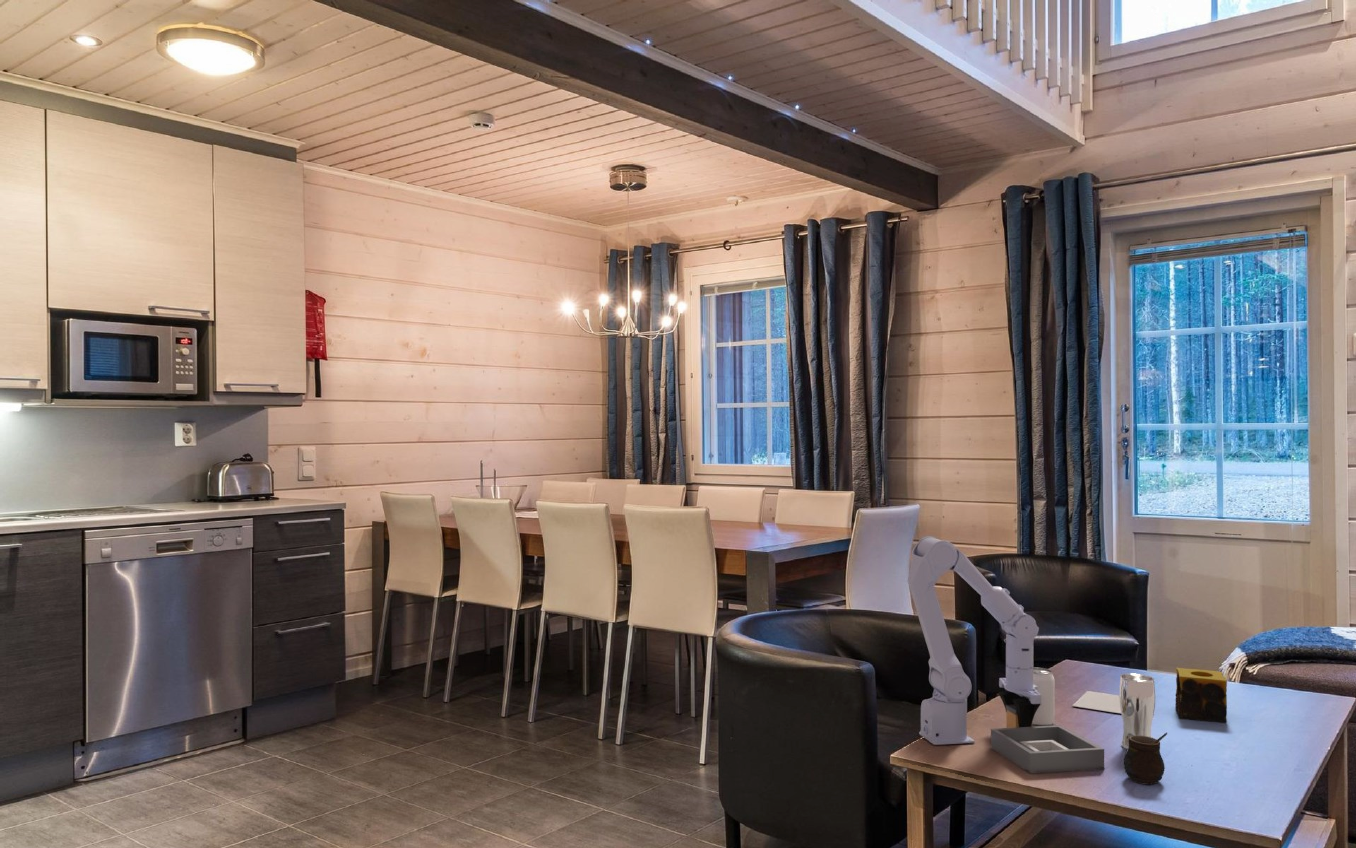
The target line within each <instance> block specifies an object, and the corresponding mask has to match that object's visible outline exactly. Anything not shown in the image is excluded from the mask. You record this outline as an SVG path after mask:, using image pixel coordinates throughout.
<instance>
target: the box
mask: <svg viewBox="0 0 1356 848" xmlns="http://www.w3.org/2000/svg"><path fill="white" fill-rule="evenodd" d="M990 748H991V749H992V750H994V751H995V752H997V753H998V754H1000V755H1001V756H1003V757H1005V758H1006V759H1007V760H1009V761H1010V762H1012V763H1014V764H1015V765H1017V767H1020V768H1021V769H1022V770H1024V771H1025V772H1027V773H1028V774H1030V775H1031V774H1033V775H1034V774H1049V773H1050V774H1051V773H1063V772H1064V773H1065V772H1078V771H1080V772H1081V771H1096V770H1098V771H1099V770H1105V748H1103V747H1101V746H1100V745H1097V744H1096V743H1094V742H1092V741H1090V740H1088V739H1086V738H1085V737H1084V736H1083V737H1082V736H1081V735H1079V734H1077V733H1075V732H1073V731H1071V730H1070V729H1067V728H1065V727H1063V725H1060V724H1059V725H1056V724H1055V725H1054V724H1053V725H1050V726H1037V725H1034V726H1033V727H1016V728H1006V727H1003V728H998V727H997V728H990Z"/></svg>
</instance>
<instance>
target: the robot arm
mask: <svg viewBox="0 0 1356 848" xmlns="http://www.w3.org/2000/svg"><path fill="white" fill-rule="evenodd" d="M949 570H950V571H952V572H955V573H957V574H958V575H959V576H960V577H961V579H963V580H964V581H965V582H966V583H967V584H968V585H969V586H970V587H971V588H972V589H973V590H974V591H976V593H977V594H979V595H980V604H981V606H982V607H984V609H986V611H987V612H988V613H989V614H990V615H991V616H992V617H993V618H994V619H995V620H996V621H997V622H998V623H999V625H1000V626H1001V629H1002V631H1003V632H1005V635H1006V636H1005V638H1006V639H1005V640H1006V641H1005V642H1006V643H1005V677H999V680H998V686H999V688H1002V689H1003V688H1004V691H999V692H998V696H999V697H1000V699H1001V702H1002V703H1003V706H1004V708H1005V709H1004V710H1005V713H1006V714H1007V710H1006V705H1015V707H1016V710H1017V715H1018V724H1019V727H1031V725H1032V721H1033V718H1034V715H1035V713H1036V711H1037V709H1038V707H1039V706H1040V705H1041V695H1040V694H1039V693H1038V692H1037V691H1036V690H1037V689H1038V686H1036V685H1033V668H1034V640H1035V639H1036V637H1037V635H1038V634H1039V630H1040V627H1039V626H1038V625H1037V621H1036V620H1035V618H1034V617H1033V616H1031V615H1030V614H1027V613H1025V612H1024V609H1025V608H1024V606H1022V604H1018V603H1017V602H1016V601H1015V600H1014V599H1013V598H1012V596H1011V595H1010V594H1011V592H1010V590H1008V589H1007V588H1005V587H1004V588H1002V587H1001V586H997V585H996V586H993V585H992V584H991V583H990V582H989V581H988V580H987V578H986V577H985V576H984V575H983V574H982V572H981V571H980V570H979V569H978V568H977V567H976V566H975V565H974V564H973V562H971V561H970V559H969V558H968V557H967V556H966V555H965V553H963V552H962V551H961V550H960V549H958V548H957V547H955V545H954V544H953V543H952V542H951V541H948V540H941V539H938V538H936V537H935V536H931V535H930V536H924V537H922V538H920V539H919V540H918V541H917V543H916V544H915V545H914V547H913V549H912V550H911V562H910V567H909V572H908V578H907V582H908V583H907V584H908V586H909V591H910V593H911V597H912V600H913V603H914V606H915V610H916V614H917V617H918V620H919V623H920V627H921V630H922V633H923V637H924V640H925V643H926V646H927V649H928V654H929V657H930V658H929V659H928V661H927V662H928V666H929V674H928V681H929V684H930V686H931V687H932V688H933V692H932V697H930V698H927V699H922V702H921V705H920V731H919V732H918V733H919V735H920V736H921V737H923V738H924V739H925V740H927V741H928V742H930V743H931V744H932V745H934V746H936V745H937V746H939V745H940V746H941V745H943V746H944V745H957V744H974V743H975V742H976V741H975V740H974V739H973V738H971V737H970V736H969V735H968V733H967V732H968V697H969V696H970V694H971V692H972V687H973V686H972V682H971V679H970V677H969V676H968V675H967V674H966V673H965V672H964V669H963V666H962V664H961V662H960V661H959V659H958V658H957V656H956V654H955V652H954V648H953V645H952V641H951V638H950V635H949V631H948V628H947V625H946V622H945V618H944V615H943V611H942V608H941V605H940V602H939V598H938V595H937V592H936V587H935V586H936V583H937V582H938V580H939V579H940V577H942V576H943V575H944V574H945V573H947V572H948V571H949Z"/></svg>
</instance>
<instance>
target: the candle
mask: <svg viewBox="0 0 1356 848" xmlns="http://www.w3.org/2000/svg"><path fill="white" fill-rule="evenodd" d="M1175 670H1176V677H1175V681H1176V683H1175V684H1176V689H1175V704H1174V705H1175V711H1176V714H1177V715H1178V716H1177V717H1178V718H1179V719H1186V720H1191V721H1192V720H1193V721H1204V722H1214V723H1223V724H1225V723H1227V721H1228V720H1227V719H1228V718H1227V715H1228V710H1227V709H1228V702H1227V701H1228V700H1227V699H1228V697H1227V691H1228V688H1227V686H1228V680H1227V679H1226V678H1225V676H1224V674H1223V672H1222V671H1217V670H1209V669H1208V670H1207V669H1197V668H1196V669H1193V668H1183V667H1175Z"/></svg>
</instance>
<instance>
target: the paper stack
mask: <svg viewBox="0 0 1356 848" xmlns="http://www.w3.org/2000/svg"><path fill="white" fill-rule="evenodd" d="M1071 706H1073V707H1078V708H1082V709H1089V710H1096V711H1103V712H1107V713H1108V712H1109V713H1116V714H1121V709H1120V701H1119V695H1118V694H1111V693H1103V692H1098V691H1090V690H1087V691H1086V692H1085V693H1083V695H1082V696H1080V698H1079V699H1078V700H1077V701H1076V702H1074V703H1073V704H1072V705H1071Z"/></svg>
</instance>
